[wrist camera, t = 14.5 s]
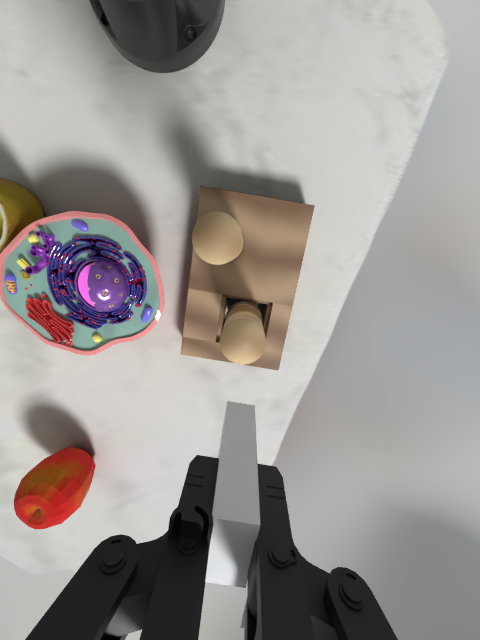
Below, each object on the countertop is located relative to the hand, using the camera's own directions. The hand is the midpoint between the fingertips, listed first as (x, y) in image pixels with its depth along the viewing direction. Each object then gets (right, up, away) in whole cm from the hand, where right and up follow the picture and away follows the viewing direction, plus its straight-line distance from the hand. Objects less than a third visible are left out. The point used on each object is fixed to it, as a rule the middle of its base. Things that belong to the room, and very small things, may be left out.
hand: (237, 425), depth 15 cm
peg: (+1, +7, +25) cm, 26 cm away
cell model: (-19, +12, +25) cm, 33 cm away
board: (+1, +11, +24) cm, 27 cm away
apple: (-28, -18, +33) cm, 47 cm away
